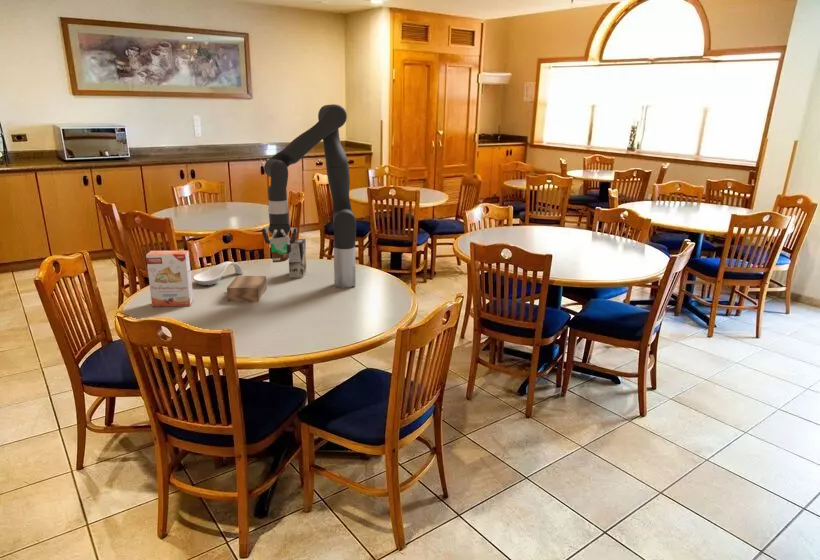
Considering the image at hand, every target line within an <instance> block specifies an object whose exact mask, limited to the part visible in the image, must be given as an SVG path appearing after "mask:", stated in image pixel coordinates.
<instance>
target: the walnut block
mask: <svg viewBox="0 0 820 560" xmlns="http://www.w3.org/2000/svg"><path fill="white" fill-rule="evenodd" d="M267 285H268V283H267V275H236V277H235V278H234V279H233V280H232V281H231V282H230V283H229V285H227V287H226V293H227V294H226V295H227V297H226V298H227V302H238V301H253V302H254V303H255V302H256V301H257V302H260V301H261V298H262V297H263V296H264V294H265V293H266V291H267V289H268V287H267ZM262 295H263V296H262ZM253 302H252V303H253Z"/></svg>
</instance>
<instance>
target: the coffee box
mask: <svg viewBox="0 0 820 560" xmlns="http://www.w3.org/2000/svg"><path fill="white" fill-rule="evenodd" d="M306 247H307V246H306V238H296V241H295V243H292V244H291V252H290V253H289V254H288V272H289V275H288V276H289V278H298V279H299V278H301V279H303V278H304V276H305V275H306V274H307V272H308V270H307V250H306V249H307V248H306ZM305 273H306V274H305ZM302 277H303V278H302Z"/></svg>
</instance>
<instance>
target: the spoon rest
mask: <svg viewBox="0 0 820 560" xmlns="http://www.w3.org/2000/svg"><path fill="white" fill-rule="evenodd" d="M229 266H233V268H234V273H235V274H237V275H239V276H244V272H243V268H242V267H241V265H240V264H239V263H237V262H234V261H233V262H232V261H223V262H221V263H219V264H217V265H215V266H213V267H211V268H208V269H206V270H204V271H201V272H198V273H196V274H194V276H193V277H192V279H193V281H194V282H195V283H197V284H198V285H200V286H205V285H208V286H214V285H216V284H217V283H219V282H220V281H221V279H222V277H223V275H224V274H225V271H226V270H227V269H228V267H229ZM213 284H214V285H213Z"/></svg>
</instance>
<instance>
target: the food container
mask: <svg viewBox="0 0 820 560" xmlns="http://www.w3.org/2000/svg"><path fill="white" fill-rule="evenodd" d="M287 237H288V239H289V240H291V239H290V235H289V234H288V235H287ZM287 237H286V236H285V237H275V238H272V237H271V238H269V240H270V244H271V248H270V252H271V251H272V252H271V257H272V258H271V260H272V263H281V262H285V261H287V260H288V261H289V254H287V245H288V244H287V241H289V240H288V239H287ZM270 244H269V245H270Z"/></svg>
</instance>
